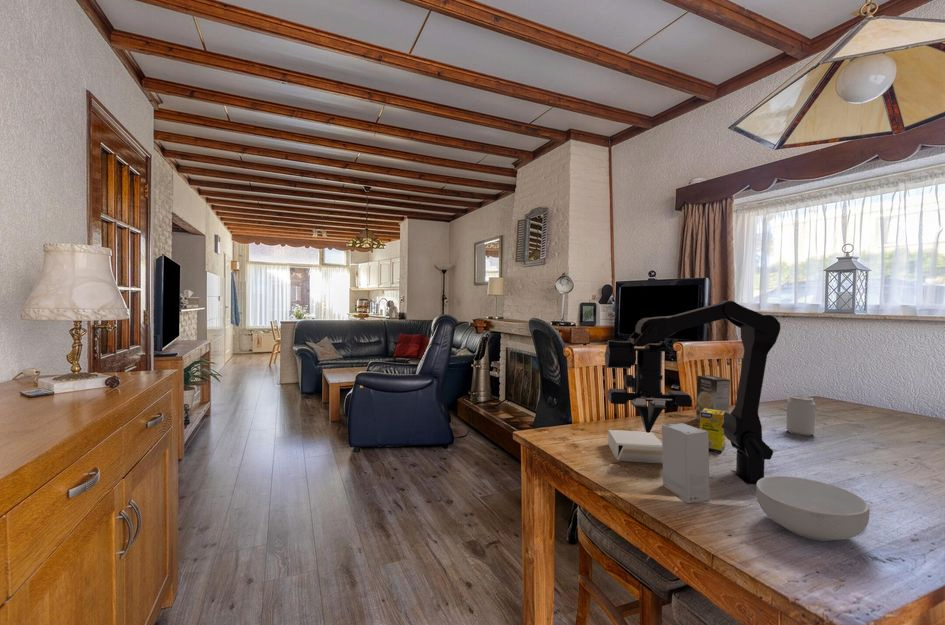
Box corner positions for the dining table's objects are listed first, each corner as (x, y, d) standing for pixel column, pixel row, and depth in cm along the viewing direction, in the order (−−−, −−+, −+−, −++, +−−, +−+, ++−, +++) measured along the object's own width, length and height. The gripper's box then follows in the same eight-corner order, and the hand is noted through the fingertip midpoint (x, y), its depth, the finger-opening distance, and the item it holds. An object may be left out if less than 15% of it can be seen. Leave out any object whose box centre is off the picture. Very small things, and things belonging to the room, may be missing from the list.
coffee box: (694, 419, 160) (695, 375, 159) (708, 418, 162) (710, 374, 161) (714, 426, 151) (716, 379, 151) (729, 424, 153) (731, 379, 152)
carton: (663, 464, 114) (664, 445, 113) (616, 461, 115) (616, 442, 115) (651, 449, 125) (651, 432, 125) (608, 446, 127) (608, 429, 127)
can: (781, 429, 148) (782, 393, 148) (805, 430, 147) (806, 394, 147) (794, 435, 141) (795, 398, 141) (820, 437, 140) (821, 399, 140)
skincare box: (710, 502, 92) (712, 432, 92) (685, 504, 91) (687, 433, 91) (682, 485, 101) (684, 421, 100) (659, 487, 99) (661, 422, 99)
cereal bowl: (769, 501, 93) (771, 468, 93) (875, 532, 81) (876, 495, 81) (742, 527, 82) (743, 489, 82) (859, 568, 70) (860, 524, 70)
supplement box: (722, 453, 123) (723, 414, 123) (698, 449, 126) (699, 411, 126) (725, 448, 128) (726, 410, 127) (702, 443, 131) (703, 407, 131)
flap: (663, 465, 113) (673, 451, 106) (617, 462, 114) (623, 448, 107) (663, 462, 113) (672, 448, 106) (617, 459, 115) (623, 445, 108)
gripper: (677, 365, 114) (676, 425, 115) (604, 363, 117) (603, 421, 117) (693, 372, 103) (692, 438, 104) (612, 369, 106) (610, 433, 106)
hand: (647, 432), depth 108 cm, fingers closed
